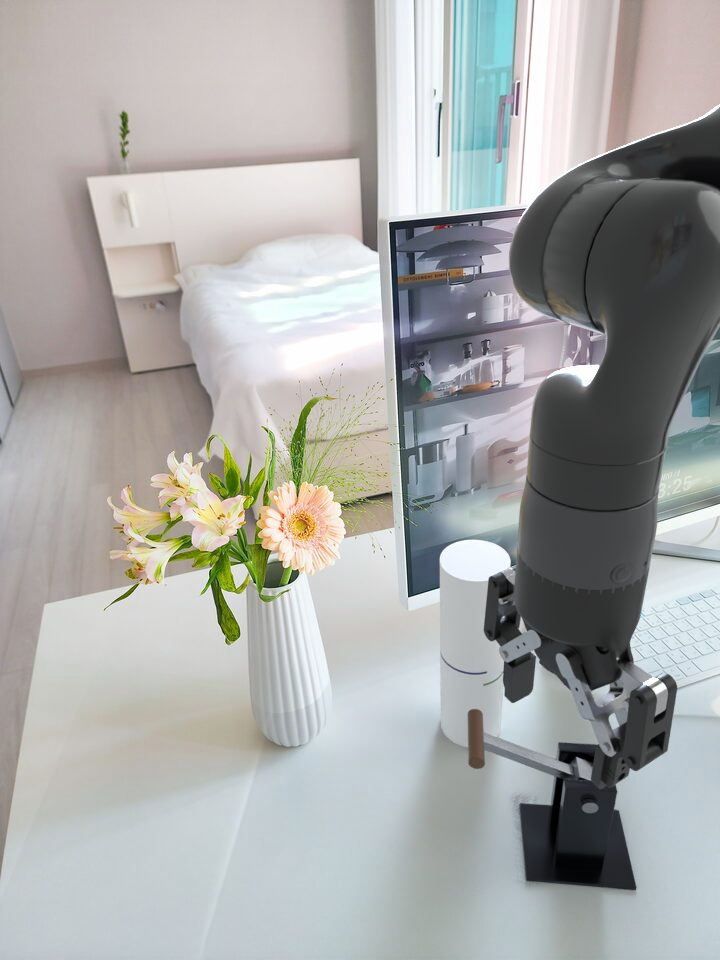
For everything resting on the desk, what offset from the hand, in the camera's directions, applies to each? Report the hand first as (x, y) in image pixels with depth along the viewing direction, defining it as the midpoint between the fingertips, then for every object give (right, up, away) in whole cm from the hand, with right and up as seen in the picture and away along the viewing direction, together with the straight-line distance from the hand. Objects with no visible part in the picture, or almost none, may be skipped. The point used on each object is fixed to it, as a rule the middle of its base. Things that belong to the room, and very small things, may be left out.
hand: (559, 734), depth 48 cm
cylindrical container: (-1, -12, +34) cm, 36 cm away
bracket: (+7, -19, +20) cm, 29 cm away
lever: (+1, -9, +15) cm, 17 cm away
